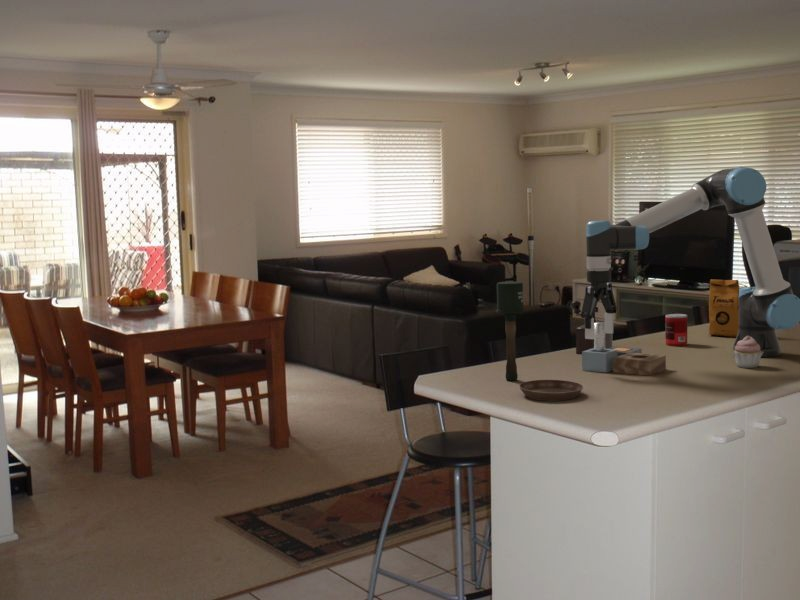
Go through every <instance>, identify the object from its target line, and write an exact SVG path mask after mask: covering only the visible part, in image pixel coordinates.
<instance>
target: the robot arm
mask: <svg viewBox="0 0 800 600" xmlns="http://www.w3.org/2000/svg"><path fill="white" fill-rule="evenodd" d="M765 193H767V182H766V179H765V177H764V175H763V174H762V173H761V172H760V171H759V170H756V169H755V168H752V167H746V166H739V167H733V168H724V169H720V170H719V171H716V172H714V173H712V174H711V175H709V176H707V177H705V178H703V179H702V180H700V181H697V182H695V183H694V184H692V186H691V188H690V189H688V190H686V191H684V192H681V193H679V194H677V195H675V196H673V197H671V198H669V199H667V200H665V201H663V202H660V203H658V204H656V205H654V206H652V207H649V208H648V209H645V210H643V211H641V212H639V213H637V214H635V215H633V216H631V217H628V218H626V219H625V220H622V221H620V222H617V223H616V224H611V222H610V220H592V221H591V220H590V221H588V222H587V223H586V231H585V239H586V269H587V271H586V282H587V283H590V286H585V293H584V298H583V301H582V307H581V312H580V313H581V316H580V317H581V319H584V325H585V339H594V318H593V314H594V311H595V310H596V308H597V305H598V302H600V301H601V303H602V306H603V309H604V311H605V313H604V323H605V333H610V334H612V335H613V334H614V314H617V310H618V309H617V308H618V307H617V304H616V300H615V296H614V292H613V283H610V282H611V281H612V271H611V270H610V269H611V268H612V267H611V266H612V265H611V264H612V257H611V256H612V253H611V252H612V251H632V250H633V251H634V250H636V251H638V250H644V249H646V248H648V246H649V243H650V242H649V241H650V234H651V233H653V232H656V231H658V230H659V229H662V228H664V227H666V226H668V225H670V224H673V223H674V222H678V221H679V220H681V219H684V218H685V217H687V216H689V215H692V214H694V213H696V212H698V211H700V210H703V211H707V210H709V209H712V208H714V207H719V206H725V209H726V212H727V215H728V216H730V217H731V218H734V221H735V223H736V227H737V230H738V234H739V237H740V240H741V244H742V247H743V249H744V253H745V256H746V260H747V263H748V266H749V269H750V272H751V275H752V278H753V282H754V286H746V287H741V288H739V297H738V300H739V331H738V334H737V337H735V341H734V343H733V347H732V351H734V350H735V346H736V345H737V342H738V341H740V340H743V338H745V337H746V336H750V337H752V338H753V339H754V340H755V341H756V342H757V343H758V344H759V346H760V351H762V352H763V354H762V356H761V358H769V357H778V356H781V354H782V353H781V352H782V351H781V350H782V348H781V345H780V342H779V339H778V336H777V333H776V330H789V329H792V328H794V327H795V326H797V325H798V324H799V322H800V298H799V297H798V296H797V295H795V294H794V293H793V289H792V286H791V283H790V282H788V281H787V280H785V279H784V278H783V277H784V276H783V274H782V271H781V268H780V264H779V260H778V258H777V254H776V252H775V251H776V250H775V247H774V243H773V242H772V238H771V234H770V232H769V229H768V225H767V222H766V218H765V214H764V212H763V210H764V209H763V208H765V206H766V203H767V202H766V201H765V198H764V197H765Z"/></svg>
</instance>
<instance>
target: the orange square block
mask: <svg viewBox="0 0 800 600" xmlns="http://www.w3.org/2000/svg"><path fill="white" fill-rule="evenodd" d="M613 350H617V351H625V352H626V351H629V350H631V349H627V348H615V349H613Z"/></svg>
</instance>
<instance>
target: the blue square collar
mask: <svg viewBox="0 0 800 600" xmlns="http://www.w3.org/2000/svg"><path fill="white" fill-rule="evenodd" d="M615 357H617V350H613V349H605V352H604V353H603V352H594V348H592V349H589V350H586V351H582V354H581V370H582V371H588V372H596V373H598V372H599V373H608V372H611V371H614V358H615Z"/></svg>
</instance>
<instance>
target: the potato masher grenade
mask: <svg viewBox="0 0 800 600" xmlns="http://www.w3.org/2000/svg"><path fill="white" fill-rule="evenodd" d="M523 285H524V284H523V282H521V281H499V282H497V283H496V309H495V312H496V313H498V314H503V316H504V324H505V325H504V327H505V335H506V338H505V339H506V364H505V379H506V381H509V382H514V381H515V382H516V381H517V379H518V365H517V361H516V360H517V359H516V333H517V324H516V322H517V315H518V314H522V313H525V308H524V286H523Z"/></svg>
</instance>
